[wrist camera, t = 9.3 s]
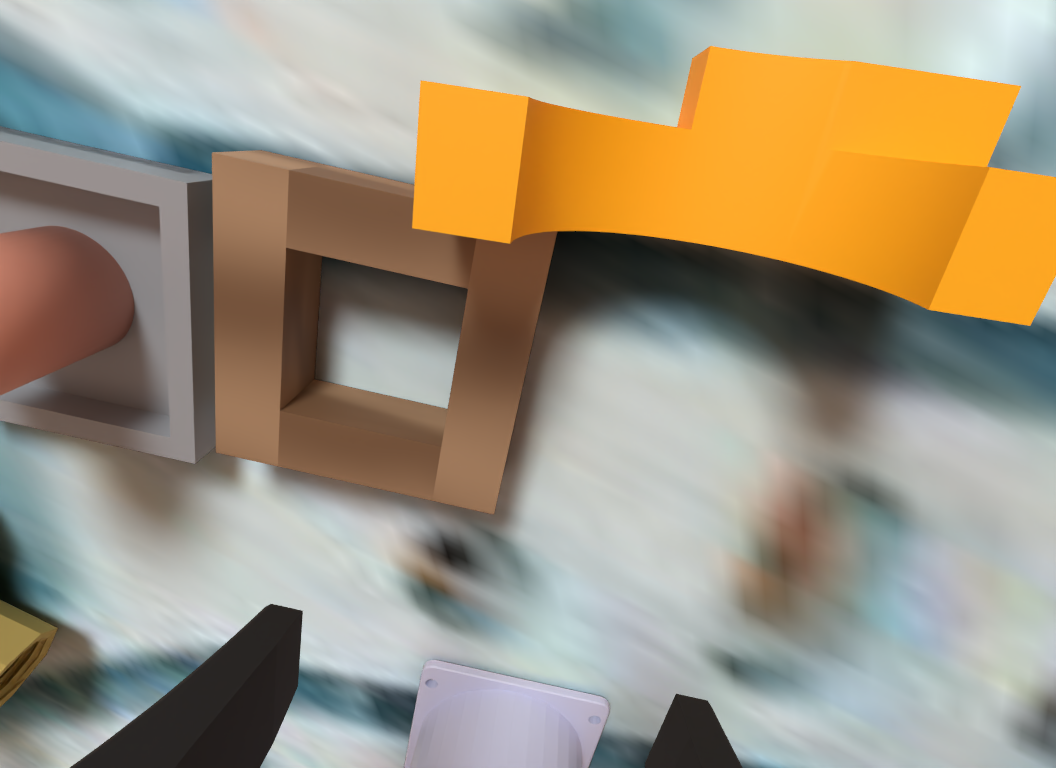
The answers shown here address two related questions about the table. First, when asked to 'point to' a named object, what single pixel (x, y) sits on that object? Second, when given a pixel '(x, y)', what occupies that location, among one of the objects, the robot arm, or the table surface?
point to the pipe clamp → (765, 176)
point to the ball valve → (20, 647)
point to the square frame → (292, 323)
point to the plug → (57, 302)
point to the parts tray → (157, 286)
